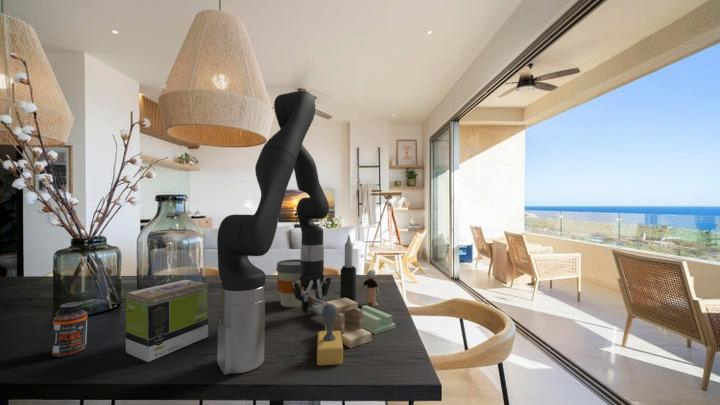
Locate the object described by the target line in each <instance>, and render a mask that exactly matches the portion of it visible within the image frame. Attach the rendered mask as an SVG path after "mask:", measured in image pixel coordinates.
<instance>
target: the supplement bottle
mask: <svg viewBox="0 0 720 405" xmlns="http://www.w3.org/2000/svg"><path fill="white" fill-rule="evenodd" d="M83 306H84V304H83V302H82V301H72V302H67V303H63V304H61V305H59V313H58V314H56V315H55V316H54V317H53V320H52V334H51V335H52V336H51V355H52V356H53V357H55V358H63V357H68V356H69V357H70V356H73V355H75V354H78V353H80V352H82V351H84V350H85V349H86V347H87V336H88V335H87V332H88V311H86V310H84V309H83V308H84V307H83Z"/></svg>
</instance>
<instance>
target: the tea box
mask: <svg viewBox="0 0 720 405" xmlns="http://www.w3.org/2000/svg"><path fill="white" fill-rule="evenodd" d="M208 337H209V283H207V282H201V281H195V280H190V279H189V280H188V279H182V280H181V279H180V280H177V281H173V282H168V283H164V284H160V285H155V286H150V287H146V288H142V289H137V290H133V291H128V292H126V294H125V353H127V354H129V355H130V356H132V357H135V358H136V359H140V360H141V361H145V362H147V363H149V362H152V361H154V360H157V359H158V358H162V357H164V356H166V355H169V354H171V353H173V352H175V351H178V350H180V349H182V348H185V347H188V346H190V345H192V344H194V343H197V342H199V341H201V340H205V339H206V338H208Z"/></svg>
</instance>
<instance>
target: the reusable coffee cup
mask: <svg viewBox="0 0 720 405" xmlns="http://www.w3.org/2000/svg"><path fill="white" fill-rule="evenodd" d="M300 261H301V258H300V259H293V258H292V259H285V260H280V261H277V263H276V269H275V270H276V272H277V277H276V281H277V282H276V284H277V290H278V293H279V299H280V306H282V307H284V308H297V307H301V301H299V300H298V299H296V298H295V294H294V291H293V288H292V285H291V283H292V282H296V281H298V280H299V278H300V276H301V273H300ZM302 287H303V286H302V284H300V288H299V289H300V292H301V294H302Z"/></svg>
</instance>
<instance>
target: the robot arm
mask: <svg viewBox="0 0 720 405" xmlns="http://www.w3.org/2000/svg"><path fill="white" fill-rule="evenodd" d="M273 107H274V113H275V117H276V120H277V124H278V126H279V130H278V131H277V132H276V133H274V135H272V136H271V137H270V138H269V139H268V140H267V141H266V142H265V144H264V145H263V146H262V148H261V151H260V154H259V156H258V158H257V161H256V164H255V176H256V181H257V184H258V186H259V190H260V198H259V202H258V207H257V209H256V211H255V213H254V214H229V215H227V216H225V217H224V218H223V219H222V221H221V222H220V224H219V226H218V230H217V238H216V239H217V240H216V241H217V243H216V245H217V247H216V249H217V271H218V272H217V273H218V276H219V278H220V280H221V293H220V294H221V297H220V300H221V301H220V302H221V303H220V319H219V320H218V322H217V356H216V357H217V359H216V361H217V362H216V363H217V365H218V367H219V369H220V370H221V372H222V374H223V375H225V376H226V375H230V374H242V373H247V372H251V371H253V370H256V368H258V367H260V366H262V364H263V363H264V361H265V333H266V332H265V330H266V329H265V328H266V327H265V325H266V324H265V321H266V320H265V318H266V316H265V315H266V313H265V312H266V274H265V272H264V271H263V270H262V269H261V268H259V267H257V266H255V265H254V264H253V263H252V261H250V260H249V259H250V258H249V257H262V256H264V255H266V254H267V253H268V252H269V251H270V249H271V247H272V245H273V242H274V240H275V236H276V233H277V228H278V222H279V219H280V215H281V210H282V206H283V202H284V199H285V195H286V193H287V189H288V186H289V182H290V180H291V177H292V175H293V172H294V176H295V181H296V186H297V189H298V191H300V192H302V193H305V194H307V195H308V196H309V197H302V198H300V199H299V201H298V202H297V206H296V214H297V218H298V221H299V222H298V223H299V227H300V230H301V247H300V259H301V261H300V273H301V276H300V278H299V280H298V281H296V282H292V283H291V285H292V288H293V291H294V294H295V298H296V299H298V300H299V301H301V306H300V307H301V308H300V309H301V311H302V313H304V314H308V312H309V309H308V301H307V300H308V296H309V295H311V291H314V294H315V298H318V299H320V300H322V299H323V297H326V296H328V291H329V288H330V285H331V281H332V278H331V277H329V276H325V275H324V268H325V267H324V266H325V265H324V264H325V263H324V262H325V261H324V260H325V259H324V257H325V250H324V229H323V228H322V227H321V226H319V225H316V224H315V223H314V220H323V219H325V218H326V217H327V216H328V214H329V211H330V204H329V201H328V198H327V196H326V193H325V192H324V190H323V188H322V185H321V183H320V180H319V174H318V168H317V164H316V162H315V159H314V158H313V156H312V155H311V153H310V152H309V151H308V150H307V148H306V146H304V144H303V143H304V140H305V138H306V135H307V134H308V131H309V129H310V127H311V125H312V122H313V121H314V118H315V114H316V102H315V99H314V96H313V95H312V94H311V93H310V91H306V90H297V91H292V92H287V93H281V94H278V96H276V97H275V99H274V104H273ZM300 284H302V286H303V287H302V294H301V292H300V289H299V288H300ZM322 301H323V300H322Z"/></svg>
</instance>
